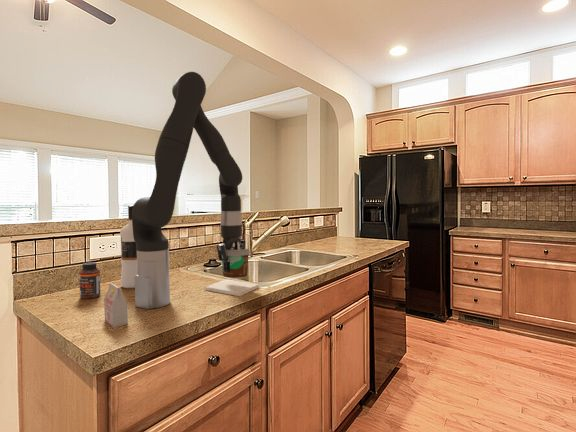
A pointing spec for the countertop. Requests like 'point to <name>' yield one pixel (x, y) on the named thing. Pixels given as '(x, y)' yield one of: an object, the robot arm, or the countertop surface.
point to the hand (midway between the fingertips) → (232, 270)
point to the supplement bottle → (89, 281)
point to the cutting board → (232, 287)
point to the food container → (237, 263)
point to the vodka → (128, 254)
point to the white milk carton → (115, 307)
